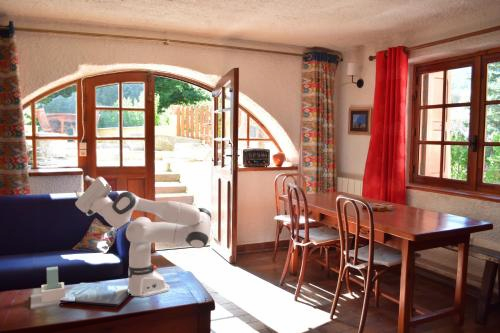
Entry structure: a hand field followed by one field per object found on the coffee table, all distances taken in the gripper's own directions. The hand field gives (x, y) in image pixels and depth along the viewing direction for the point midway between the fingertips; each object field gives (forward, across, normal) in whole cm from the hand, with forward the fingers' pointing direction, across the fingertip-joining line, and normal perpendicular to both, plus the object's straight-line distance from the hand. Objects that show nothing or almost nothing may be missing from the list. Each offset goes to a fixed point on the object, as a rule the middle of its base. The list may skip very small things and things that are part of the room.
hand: (80, 183), depth 204 cm
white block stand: (-30, +53, -11) cm, 62 cm away
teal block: (-29, +53, -11) cm, 61 cm away
